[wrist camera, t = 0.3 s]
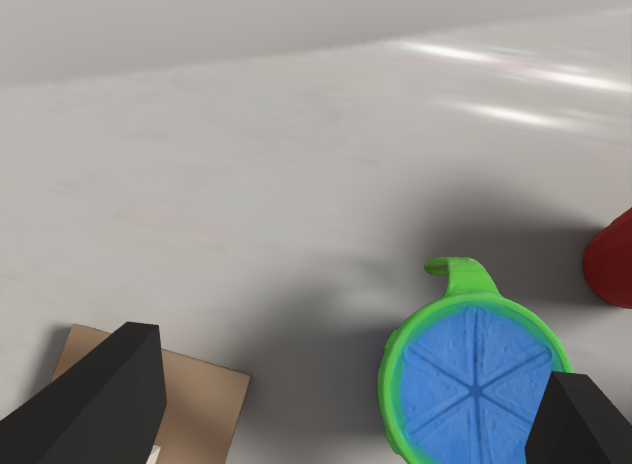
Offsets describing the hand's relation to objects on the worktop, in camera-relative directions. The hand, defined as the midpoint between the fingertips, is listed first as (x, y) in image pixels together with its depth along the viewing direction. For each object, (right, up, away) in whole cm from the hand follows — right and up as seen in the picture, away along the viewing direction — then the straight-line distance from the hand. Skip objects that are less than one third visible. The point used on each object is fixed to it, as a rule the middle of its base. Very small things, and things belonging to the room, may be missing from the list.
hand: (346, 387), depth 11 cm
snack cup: (+7, -8, +29) cm, 31 cm away
